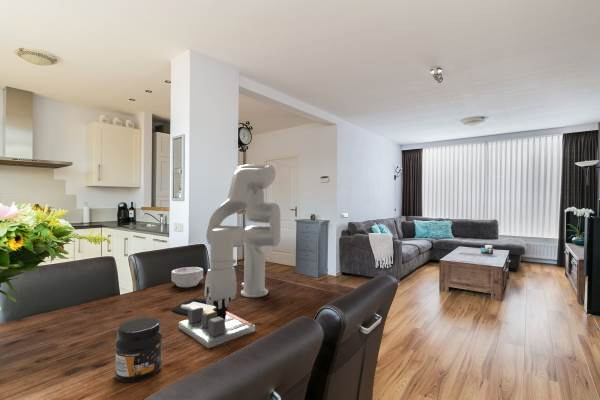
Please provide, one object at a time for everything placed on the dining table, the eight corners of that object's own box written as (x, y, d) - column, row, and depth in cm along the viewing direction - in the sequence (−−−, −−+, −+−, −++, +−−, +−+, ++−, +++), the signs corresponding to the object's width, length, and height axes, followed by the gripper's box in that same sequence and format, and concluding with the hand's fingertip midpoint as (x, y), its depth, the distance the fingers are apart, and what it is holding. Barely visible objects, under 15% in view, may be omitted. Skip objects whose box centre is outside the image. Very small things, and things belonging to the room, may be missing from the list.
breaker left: (187, 320, 104) (188, 307, 104) (198, 317, 107) (198, 305, 107) (191, 322, 102) (192, 310, 102) (203, 319, 105) (203, 307, 105)
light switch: (167, 307, 119) (194, 294, 131) (167, 314, 119) (194, 301, 131) (206, 316, 110) (231, 301, 122) (206, 324, 110) (231, 308, 123)
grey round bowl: (181, 280, 164) (181, 265, 164) (208, 281, 162) (208, 267, 162) (164, 288, 149) (165, 272, 149) (194, 290, 147) (194, 273, 147)
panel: (178, 327, 104) (178, 321, 104) (222, 314, 116) (223, 309, 116) (208, 348, 89) (208, 340, 89) (254, 331, 102) (255, 324, 102)
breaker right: (208, 333, 94) (208, 319, 94) (219, 329, 97) (219, 315, 97) (213, 336, 92) (213, 322, 92) (224, 332, 95) (225, 318, 95)
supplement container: (111, 388, 70) (111, 336, 70) (117, 365, 80) (118, 320, 80) (161, 378, 74) (161, 329, 74) (162, 357, 84) (162, 314, 84)
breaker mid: (201, 325, 100) (201, 312, 100) (212, 321, 103) (212, 309, 103) (206, 327, 98) (206, 314, 98) (217, 324, 101) (217, 311, 101)
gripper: (234, 260, 112) (233, 310, 112) (195, 266, 101) (195, 321, 101) (246, 263, 106) (245, 316, 106) (207, 270, 96) (206, 328, 96)
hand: (221, 318), depth 104 cm, fingers closed
